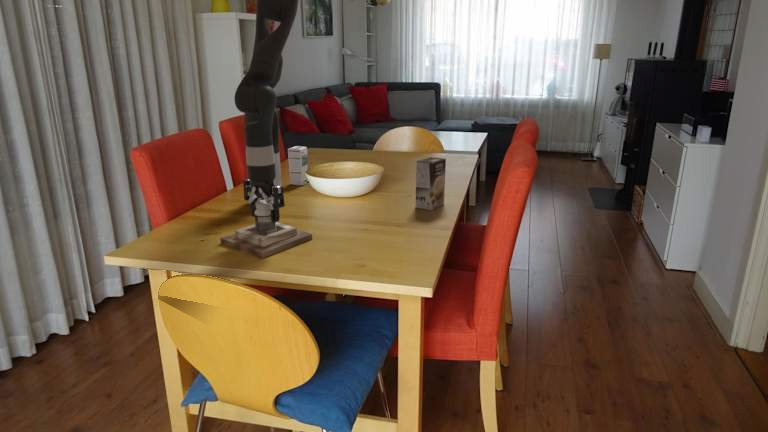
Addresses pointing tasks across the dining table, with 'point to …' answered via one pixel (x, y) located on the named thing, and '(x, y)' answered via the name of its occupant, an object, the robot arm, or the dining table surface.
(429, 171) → the coffee box
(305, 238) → the socket block
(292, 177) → the syrup box
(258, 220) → the pill bottle
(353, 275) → the dining table surface
